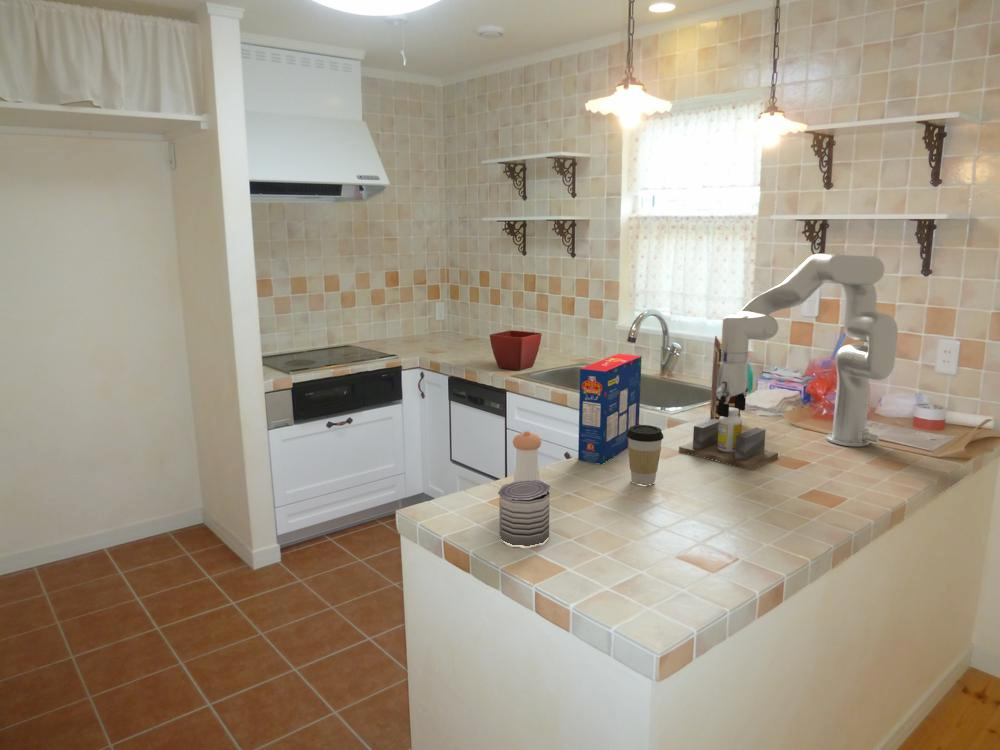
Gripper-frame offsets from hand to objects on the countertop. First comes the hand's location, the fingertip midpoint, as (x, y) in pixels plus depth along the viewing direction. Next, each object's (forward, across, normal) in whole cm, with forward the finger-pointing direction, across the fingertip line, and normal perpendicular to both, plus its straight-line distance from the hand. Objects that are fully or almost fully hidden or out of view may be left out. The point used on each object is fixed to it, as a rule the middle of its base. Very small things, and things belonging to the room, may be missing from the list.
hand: (731, 412), depth 212 cm
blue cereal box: (+13, +23, -28) cm, 38 cm away
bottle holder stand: (+13, +1, 0) cm, 13 cm away
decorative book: (+14, -27, -17) cm, 35 cm away
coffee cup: (+13, +39, -4) cm, 41 cm away
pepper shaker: (+12, +73, -15) cm, 75 cm away
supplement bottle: (+12, 0, 0) cm, 12 cm away
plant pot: (+13, -47, -141) cm, 150 cm away
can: (+12, +87, -2) cm, 87 cm away
